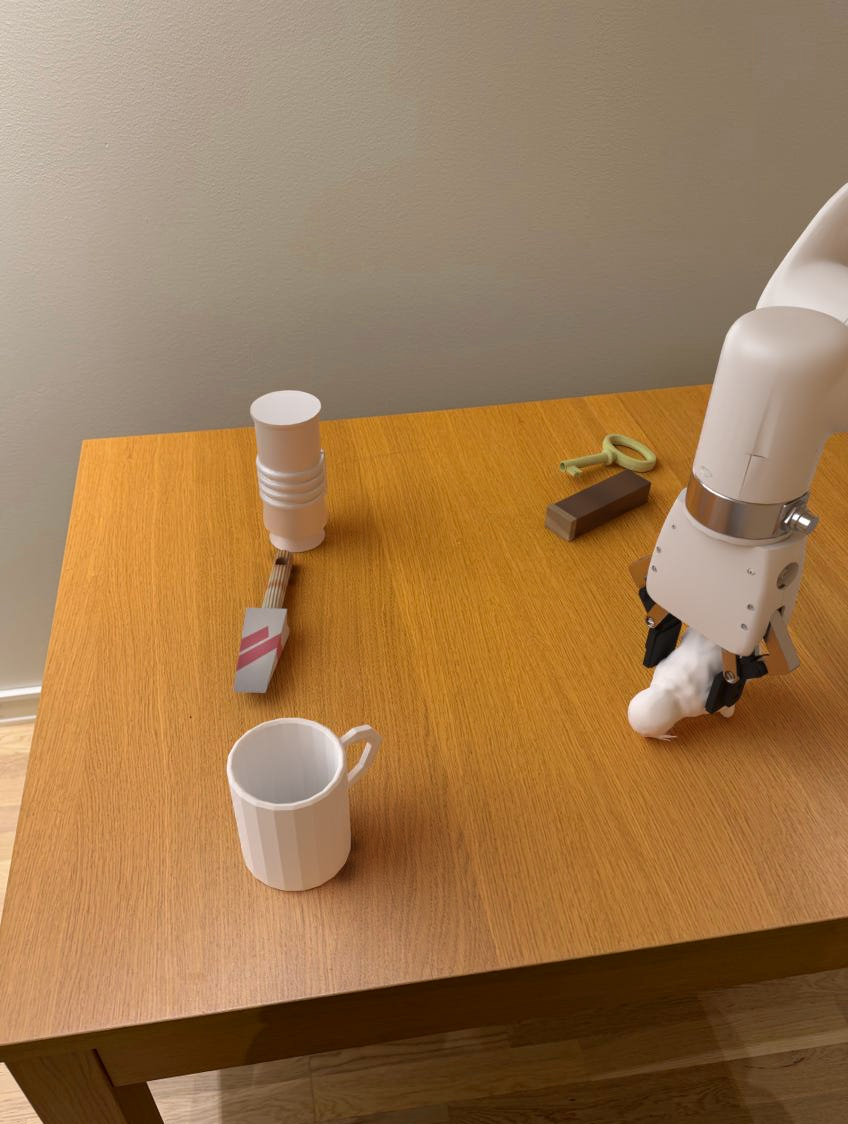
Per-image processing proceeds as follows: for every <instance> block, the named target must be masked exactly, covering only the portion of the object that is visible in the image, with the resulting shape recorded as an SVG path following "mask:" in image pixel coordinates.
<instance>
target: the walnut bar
mask: <svg viewBox="0 0 848 1124" xmlns="http://www.w3.org/2000/svg"><path fill="white" fill-rule="evenodd" d="M651 487H652V481H650V480H648V479H646V478H644V477H643V476H641V475H640V474H638V473H635V471H633V470H630V469H627V468H625V469H624V470H622V471H620V472H618V473H616V474H614V475H611V476H610V477H607V478H605V479H603V480H601V481H599V482H596V483H595V484H593V485H591V486H588V487H586V488H584V489H581V490H579V491H578V492H575V493H573V494H572V495H569V496H567V497H565V498H563V499H560V500H559V501H557V502H555V503H553V502H552V503H550V504H547V506H546V511H545V519H544V527H546V528H547V529H548V530H550V531H552V532H553V533H554V534H555V535H557V536H559V538H562V539H563V540H565V541H566V542H568V543H569V542H572V541H573V540H575V539H577V538H578V537H581V536H582V535H584V534H586V533H588V532H590V531H592V530H594V529H596V528H599V527H600V526H602V525H604V524H607V523H608V522H610V521H612V520H614V519H616V518H618V517H620V516H623V514H626V513H628V512H630V511H631V510H635V509H636V508H639V507H641V506H642V505H643V504H646V503H647V502H649V496H650V494H651V493H650V492H651Z"/></svg>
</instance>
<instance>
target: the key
mask: <svg viewBox="0 0 848 1124" xmlns="http://www.w3.org/2000/svg"><path fill="white" fill-rule="evenodd" d="M615 445H618V446H624V447H627V448H630V449H633V450H635V451H636V452H638V453H639V454H640V455H642V456H643V457H644V458H645V460H642V459H636V458H634V457H631V456H629V455H627V454H625V453H624V452H622V451H621V450H619V449H618V448H616V447H615ZM613 462H614V463H616V464H617V465H619V466H621V467H622V468H625V469H629V470H631V471H632V472H639V473H645V472H650V471H652V470H653V469H654V467H655V465H656V464H657V456H656V454H655V452H653V451H652V450H651V449H650V448H648V446H646V445H644V444H643V443H641V442H640V441H638V440H636V439H635V438H631V437H629V436H628V435H624V434H620V433H610V434H607V435H606V436H605V437H604V439H603V440H602V450H601V452H599V453H595V454H589V455H586V456H581V457H575V458H571V459H567V460H562V461H560V462H559V464H558V467H559V471H560V472H562V473H565V472H567V473H569V474H570V476H572V477H573V478H575V477H577V476H582V475H583V471H582V470H581V469H583V468H588V467H593V466H597V465H602V464H603V465H604V466H611V465H612V464H613Z"/></svg>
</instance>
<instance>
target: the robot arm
mask: <svg viewBox="0 0 848 1124" xmlns="http://www.w3.org/2000/svg"><path fill="white" fill-rule="evenodd" d="M712 383H713V384H712V387H711V391H710V395H709V399H708V403H707V408H706V411H705V416H704V420H703V424H702V428H701V431H700V436H699V440H698V444H697V447H696V451H695V455H694V458H693V464H692V466H691V471H690V474H689V479H688V483H687V486H686V487H684V488H683V489H682V490H681V491H680V492H679V494H678V495H677V497H676V499H675V500H674V503H673V504H672V506H671V508H670V510H669V512H668V514H667V516H666V518H665V520H664V523H663V525H662V527H661V530H660V532H659V534H658V537H657V540H656V543H655V546H654V549H653V552H652V554H649V555H647V556H643V557H641V558H640V559H637V560H636V561H633V562H631V563H630V564H628V566H627V567H628V572H629V574H630V576H631V578H632V580H633V582H634V584H635V586H636V588H638V589H639V590H638V592H637V594H638V596H639V599H640V601H641V603H642V606H643V607H644V609H645V612H646V615H645V616H644V623H645V624H646V626H647V627H648V633H647V636H646V639H645V644H644V649H645V652H644V656H643V661H642V666H644V667H645V668H646V669H653V668H656V667H657V665H658V663H659V662H660V661H661V660H663V659H665V658H667V657H668V656H669V655H670V653H671V652H673V651H674V650H675V649H676V648H677V644H678V641H679V637H680V634H681V630H682V626H683V623H684V624H686V625H687V626H688V627H689V626H690V627H691V628H693V629H694V630H696V631H698V632H699V633H701V634H702V635H704V636H705V637H707V638H708V639H710V640H711V641H713V642H714V643H716V644H717V645H719V646H720V647H721V650H722V665H723V671H721V672H720V673H718V674H717V675H716V676H715V677H714V680H713V683H712V686H711V689H710V692H709V695H708V698H707V701H706V704H705V708H706V711H707V712H708V713H709V714H708V715H714V714H715V713H718V712H717V711H718V710H720V709H721V708H723V707H724V706H727V707H728V708H729V707H731V706H733V705H734V704H735V703H738V701H739V700H740V699H741V697H742V696H743V695H742V694H743V691H744V689H745V687H746V686H745V683H746V681H747V679H753V680H754V679H760V678H763V677H764V676H770V677H772V676H773V677H775V676H786V675H789V674H790V673H792V672H793V671H795V670H796V669H798V668H799V667H800V666H801V661H800V658H799V655H798V653H797V651H796V648H795V645H794V644H793V641H792V639H791V637H790V634H789V631H788V629H787V628H788V626H789V623H790V620H791V617H792V614H793V611H794V607H795V604H796V601H797V597H798V593H799V590H800V585H801V582H802V577H803V572H804V566H805V561H806V554H807V552H806V551H807V539H808V537H807V536H808V535H810V534H811V533H813V531H814V530H815V529H816V528H817V526H818V524H819V522H820V517H819V516H817V515H815V514H814V513H812V512H811V510H810V509H809V508H808V502H809V500H810V496H811V491H809V490H810V488H811V485H812V482H813V480H814V477H815V474H816V472H817V469H818V466H819V462H820V460H821V457H822V454H823V451H824V449H825V445H826V443H827V441H828V439H829V438H830V437H831V436H833V435H835V434H844V433H848V182H846V183H844V185H842V186H841V187H840V188H839V189H838V190H837V191H836V192H835V193H834V194H833V195H832V196H831V197H830V198H829V199H828V200H827V201H826V202H825V204H823V206H822V207H821V208H820V209H819V210H818V212H817V213H816V214H815V216H814V217H813V218H812V220H811V221H810V222H809V223H808V225H807V226H806V228H805V229H804V230H803V232H802V233H801V234H800V236H799V237H798V239H797V240H796V241H795V242H794V244H793V245H792V247H791V248H790V249H789V251H788V252H787V253H786V255H785V256H784V258H783V259H782V260H781V262H780V264H779V265H778V267H777V268H776V270H775V271H774V273H773V274H772V276H771V277H770V278H769V280H768V282H767V284H766V286H765V287H764V289H763V290H762V293H761V295H760V297H759V299H758V300H757V303H756V306H755V309H753V310H750V311H749V312H746V313H744V314H743V315H741V316H740V317H739V318H737V319H736V320H735V321H734V322H733V324H732V325H731V326H730V328H729V330H728V331H727V333H726V335H725V338H724V341H723V344H722V348H721V351H720V355H719V358H718V362H717V368H716V371H715V375H714V379H713V382H712ZM762 640H763V642H764V645H765V647H766V649H767V652H768V653H764V654H763V653H762V655H759V643H760V641H761V642H762ZM740 656H742V658H740ZM744 686H745V687H744ZM735 705H736V704H735Z"/></svg>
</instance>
